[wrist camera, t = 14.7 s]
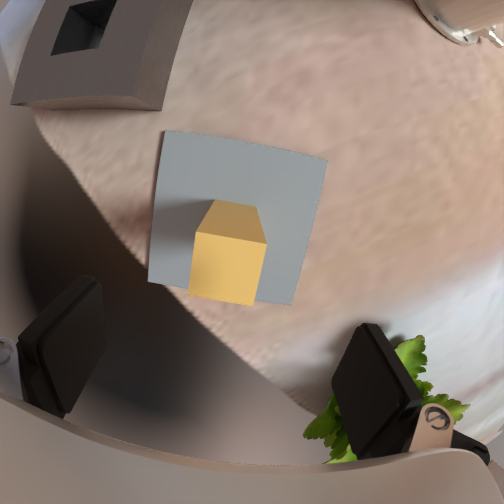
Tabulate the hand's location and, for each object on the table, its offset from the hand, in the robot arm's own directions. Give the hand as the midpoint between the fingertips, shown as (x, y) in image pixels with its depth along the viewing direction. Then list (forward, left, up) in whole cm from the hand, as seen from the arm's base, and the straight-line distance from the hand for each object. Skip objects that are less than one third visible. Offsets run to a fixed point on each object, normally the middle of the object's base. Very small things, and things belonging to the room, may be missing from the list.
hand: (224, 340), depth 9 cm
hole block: (+16, -17, -20) cm, 30 cm away
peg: (0, 0, -19) cm, 19 cm away
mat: (0, 0, -20) cm, 20 cm away
